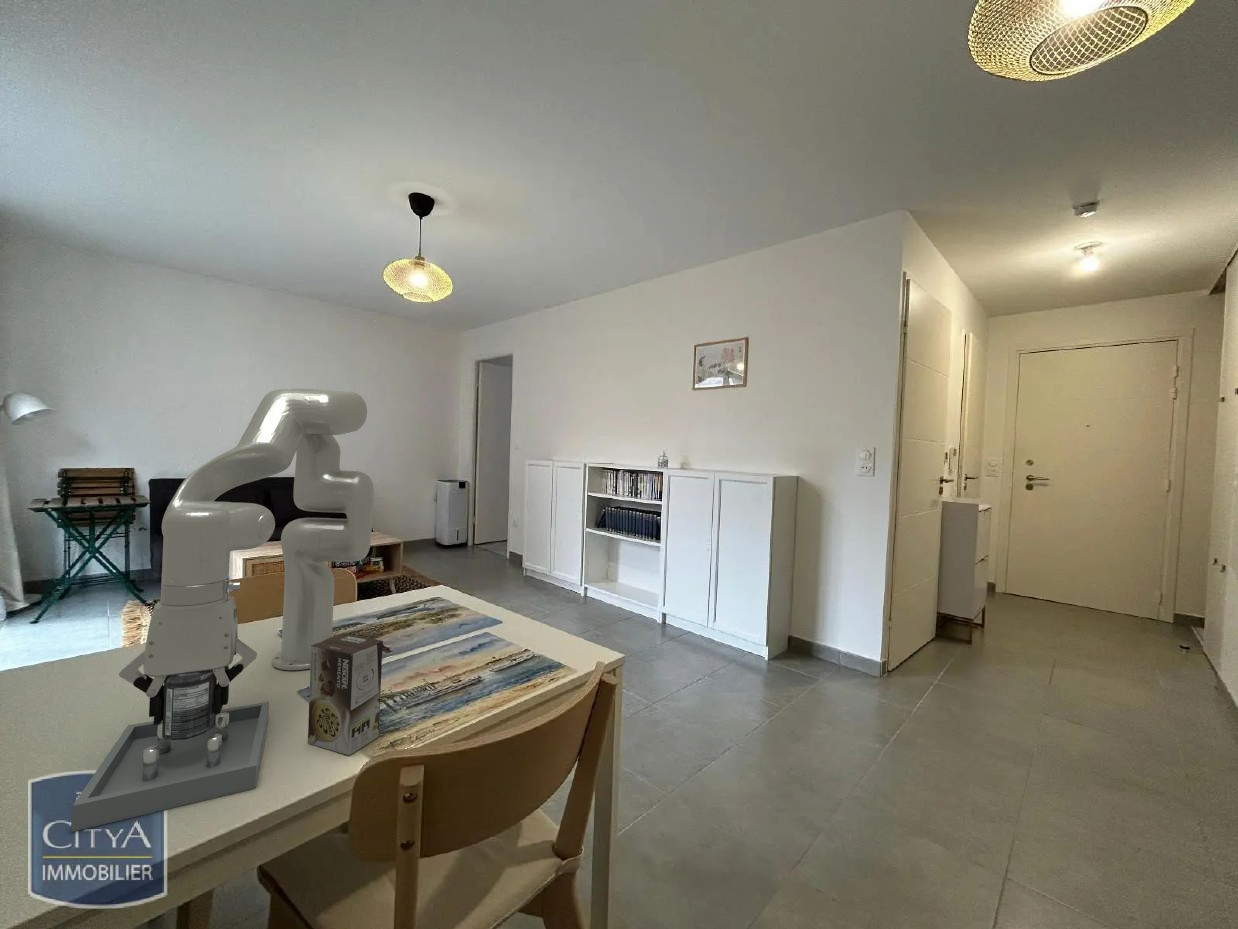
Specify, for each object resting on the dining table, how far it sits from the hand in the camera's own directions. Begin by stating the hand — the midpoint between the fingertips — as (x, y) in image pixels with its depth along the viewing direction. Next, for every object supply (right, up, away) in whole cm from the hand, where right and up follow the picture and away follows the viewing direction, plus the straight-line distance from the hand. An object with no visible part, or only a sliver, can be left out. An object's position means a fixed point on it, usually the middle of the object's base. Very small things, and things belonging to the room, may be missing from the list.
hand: (189, 713), depth 73 cm
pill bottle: (0, -3, 0) cm, 3 cm away
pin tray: (0, -8, 0) cm, 8 cm away
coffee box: (+18, -9, +9) cm, 22 cm away
